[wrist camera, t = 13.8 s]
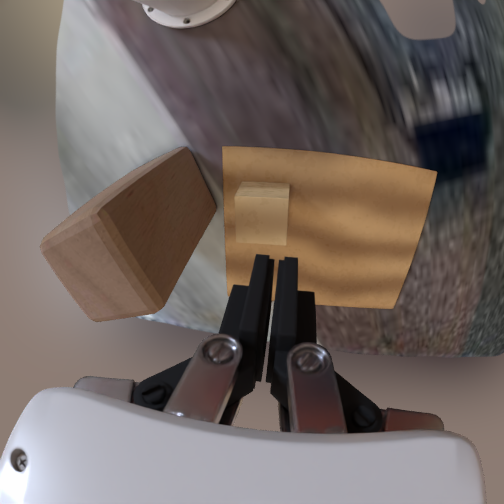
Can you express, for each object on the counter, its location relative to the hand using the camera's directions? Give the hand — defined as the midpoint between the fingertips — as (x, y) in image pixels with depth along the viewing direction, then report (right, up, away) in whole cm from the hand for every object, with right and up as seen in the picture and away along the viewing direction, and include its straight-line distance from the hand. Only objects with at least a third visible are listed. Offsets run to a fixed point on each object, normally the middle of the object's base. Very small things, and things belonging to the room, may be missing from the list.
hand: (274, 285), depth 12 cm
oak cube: (+1, +8, +25) cm, 26 cm away
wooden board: (+9, +3, +27) cm, 28 cm away
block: (-11, +10, +26) cm, 30 cm away
